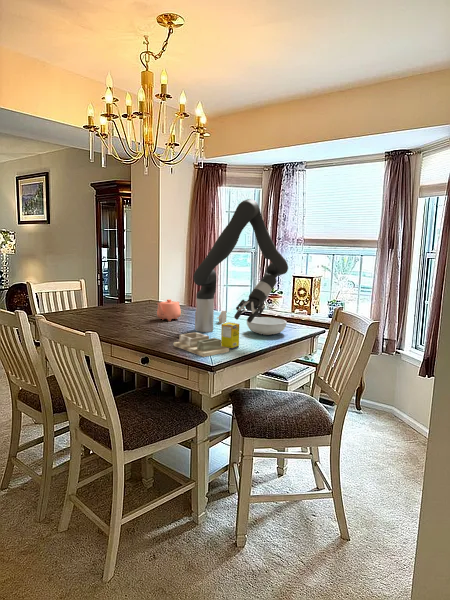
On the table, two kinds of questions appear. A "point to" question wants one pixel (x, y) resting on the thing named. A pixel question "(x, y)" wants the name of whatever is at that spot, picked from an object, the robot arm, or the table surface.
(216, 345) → the beige compartment tray
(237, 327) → the supplement box
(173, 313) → the teapot
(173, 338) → the table surface
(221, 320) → the architectural model
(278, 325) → the serving bowl
